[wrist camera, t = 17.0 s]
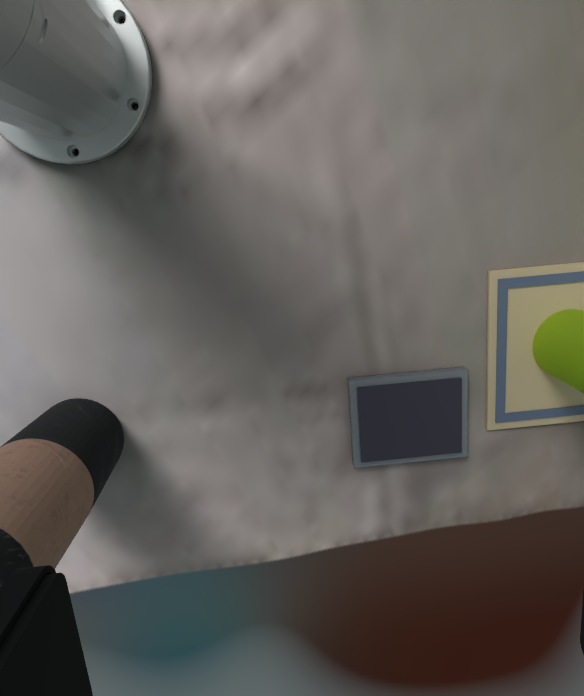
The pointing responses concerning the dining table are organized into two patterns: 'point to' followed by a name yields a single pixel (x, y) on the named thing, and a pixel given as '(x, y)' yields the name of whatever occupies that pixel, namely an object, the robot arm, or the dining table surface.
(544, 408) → the card sheet
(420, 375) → the ink pad
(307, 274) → the dining table surface
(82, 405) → the travel mug
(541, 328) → the soap dispenser
